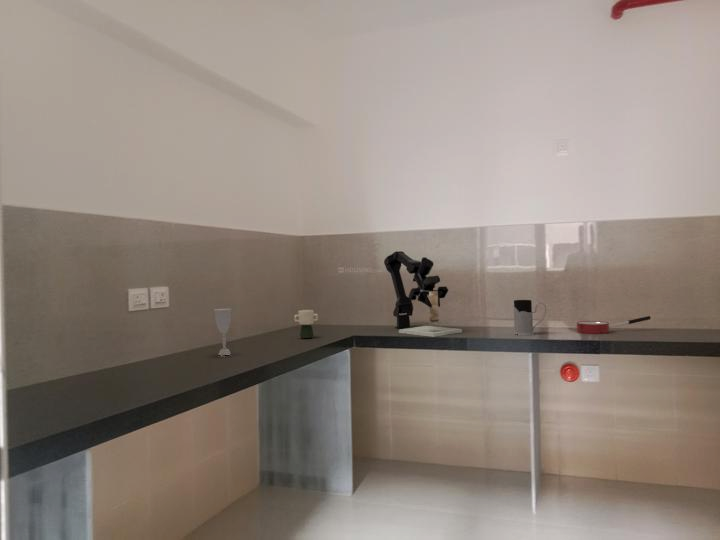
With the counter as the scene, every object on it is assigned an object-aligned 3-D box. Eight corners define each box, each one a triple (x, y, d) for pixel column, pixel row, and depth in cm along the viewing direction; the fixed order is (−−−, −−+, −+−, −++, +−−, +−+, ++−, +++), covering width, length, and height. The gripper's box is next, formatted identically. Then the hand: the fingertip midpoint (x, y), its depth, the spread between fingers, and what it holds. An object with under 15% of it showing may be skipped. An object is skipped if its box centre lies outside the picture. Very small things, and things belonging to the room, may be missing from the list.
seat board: (399, 332, 256) (398, 329, 256) (426, 328, 267) (426, 325, 267) (433, 336, 238) (433, 333, 238) (462, 332, 249) (461, 329, 249)
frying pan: (637, 327, 244) (636, 314, 244) (656, 331, 231) (655, 316, 231) (571, 331, 240) (571, 317, 240) (587, 335, 227) (586, 320, 227)
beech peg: (428, 324, 244) (427, 291, 244) (432, 323, 247) (431, 291, 247) (436, 324, 242) (435, 291, 241) (440, 323, 245) (439, 291, 245)
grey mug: (512, 332, 241) (511, 299, 241) (545, 332, 238) (544, 299, 238) (514, 335, 233) (513, 301, 232) (548, 335, 230) (547, 300, 230)
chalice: (217, 354, 211) (215, 308, 211) (234, 353, 212) (233, 308, 212) (214, 357, 204) (212, 310, 204) (232, 356, 205) (230, 309, 204)
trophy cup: (318, 336, 252) (317, 309, 252) (319, 338, 245) (318, 310, 245) (294, 337, 251) (293, 310, 251) (295, 340, 244) (294, 311, 244)
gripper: (410, 270, 244) (423, 295, 234) (445, 269, 251) (459, 293, 241) (403, 287, 252) (415, 312, 242) (437, 285, 259) (450, 309, 249)
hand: (435, 306), depth 243 cm, fingers closed on beech peg, 4 cm apart
